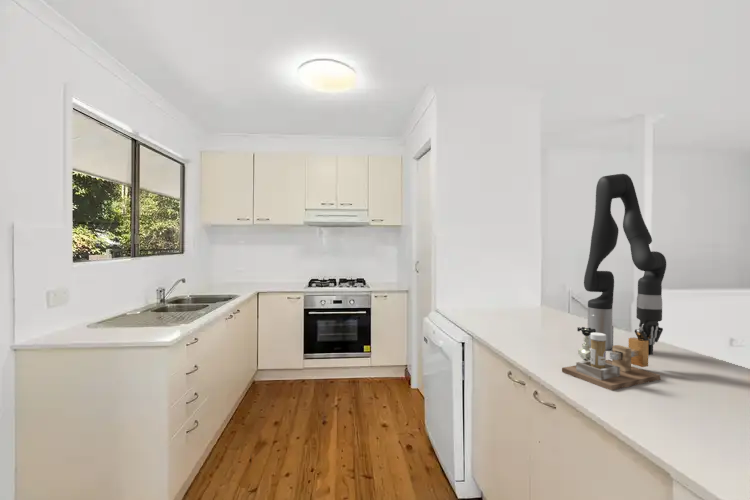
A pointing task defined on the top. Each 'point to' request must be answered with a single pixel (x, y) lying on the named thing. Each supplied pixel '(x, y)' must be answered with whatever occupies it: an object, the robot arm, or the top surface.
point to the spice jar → (598, 350)
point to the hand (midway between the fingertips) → (648, 354)
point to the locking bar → (635, 352)
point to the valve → (585, 349)
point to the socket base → (612, 372)
